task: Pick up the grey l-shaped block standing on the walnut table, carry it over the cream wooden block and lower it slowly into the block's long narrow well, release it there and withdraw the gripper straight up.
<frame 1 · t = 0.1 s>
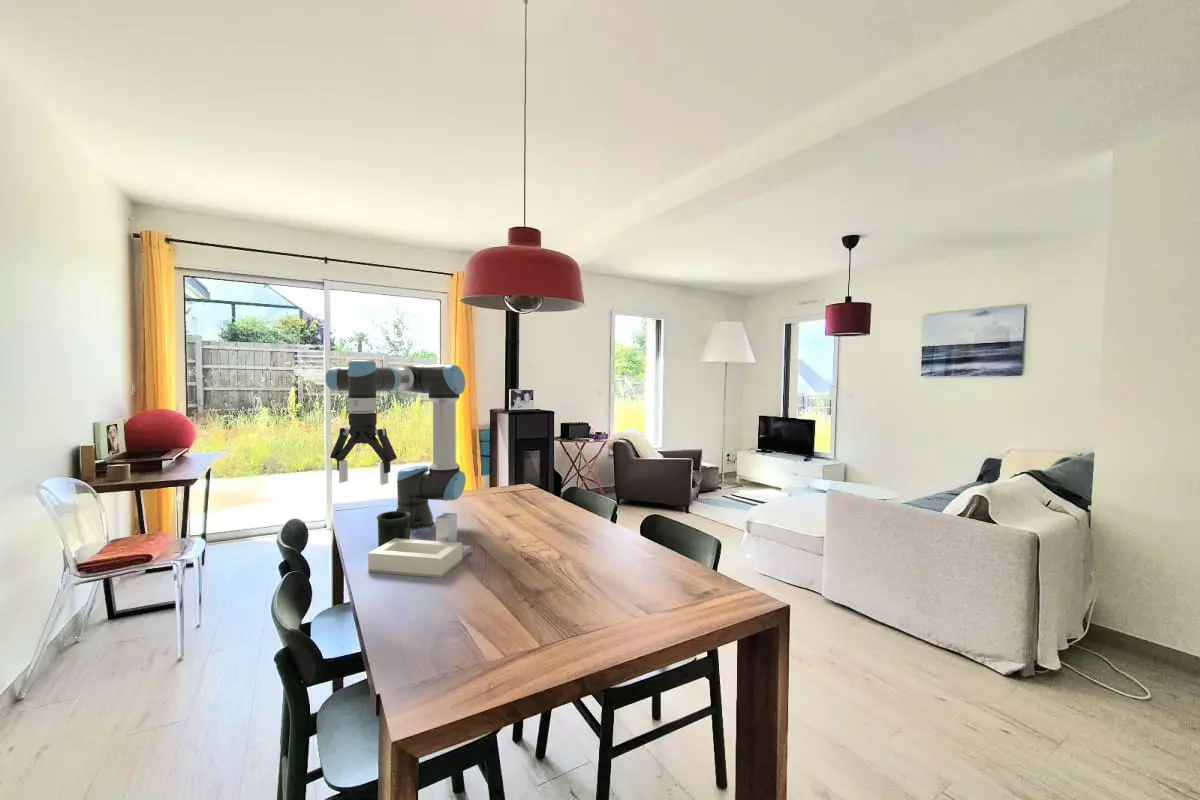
hand: (363, 482, 146), 28 cm above the table, fingers open, 13 cm apart
grey l-shaped block: (446, 553, 166), on the table
well block: (416, 565, 155), on the table
mug: (392, 548, 170), on the table
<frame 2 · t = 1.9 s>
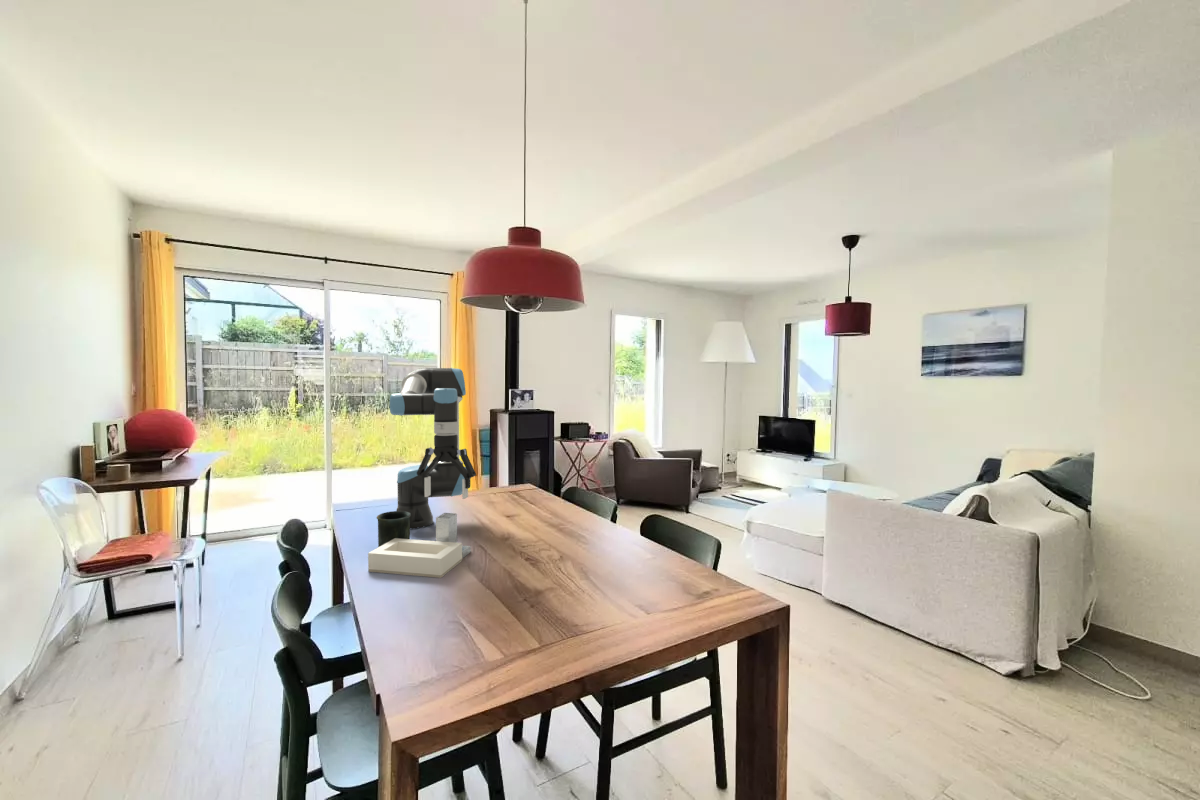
hand: (446, 497, 165), 19 cm above the table, fingers open, 13 cm apart
nothing on the table moved.
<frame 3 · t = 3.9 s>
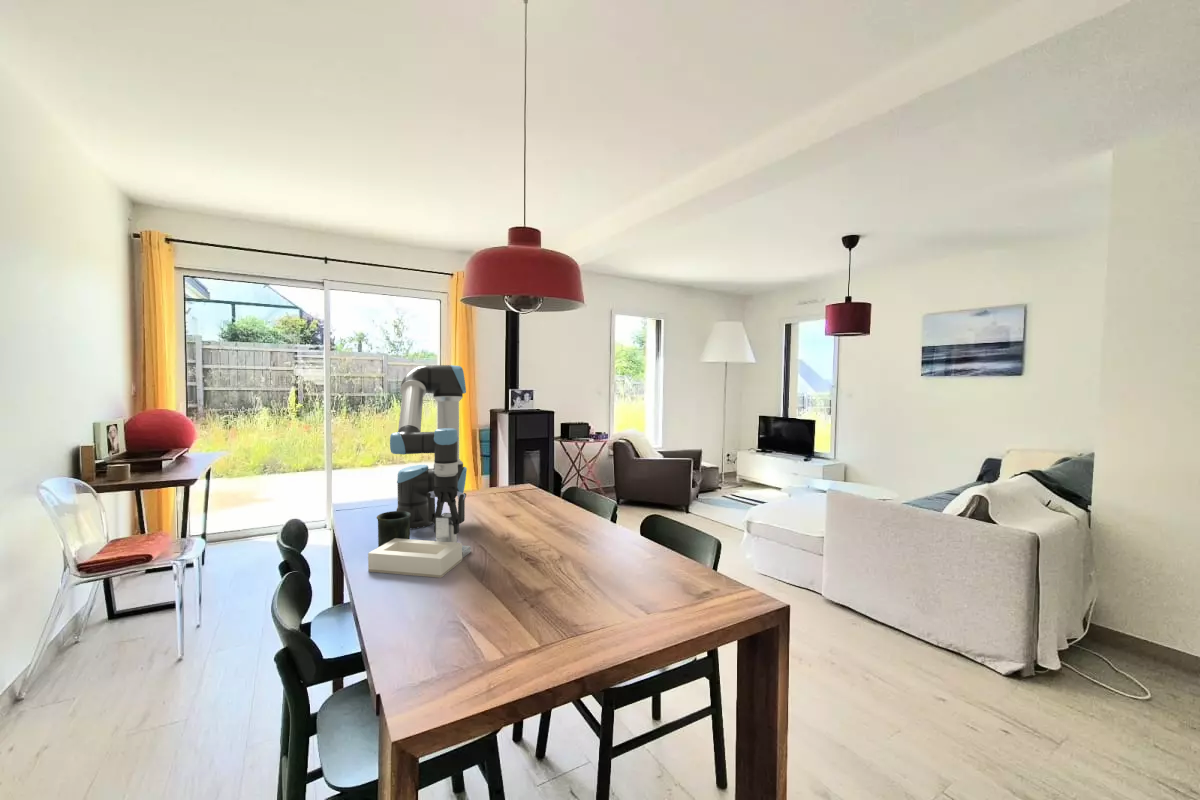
hand: (446, 542, 166), 4 cm above the table, fingers closed on grey l-shaped block, 4 cm apart
grey l-shaped block: (446, 553, 166), on the table, touching gripper
everything else where it was.
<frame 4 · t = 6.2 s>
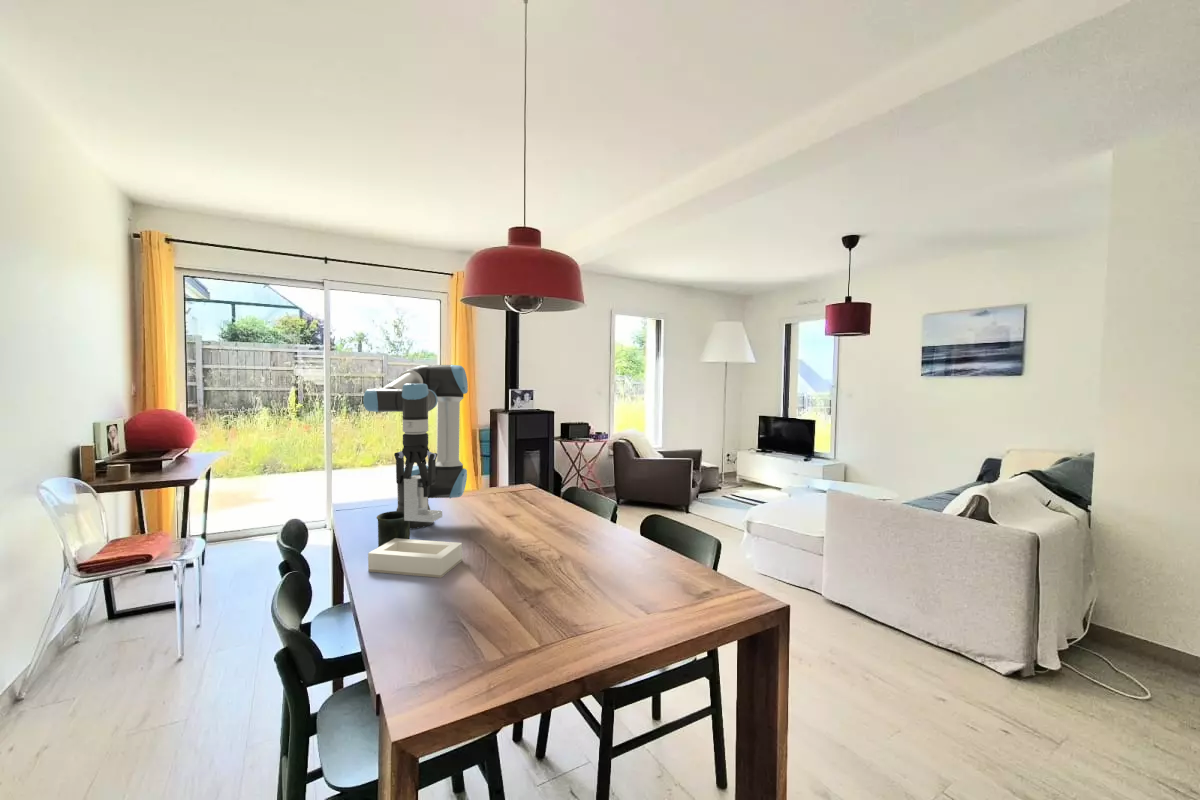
hand: (416, 506, 154), 19 cm above the table, fingers closed on grey l-shaped block, 4 cm apart
grey l-shaped block: (416, 518, 154), point 15 cm above the table, touching gripper
everything else where it was.
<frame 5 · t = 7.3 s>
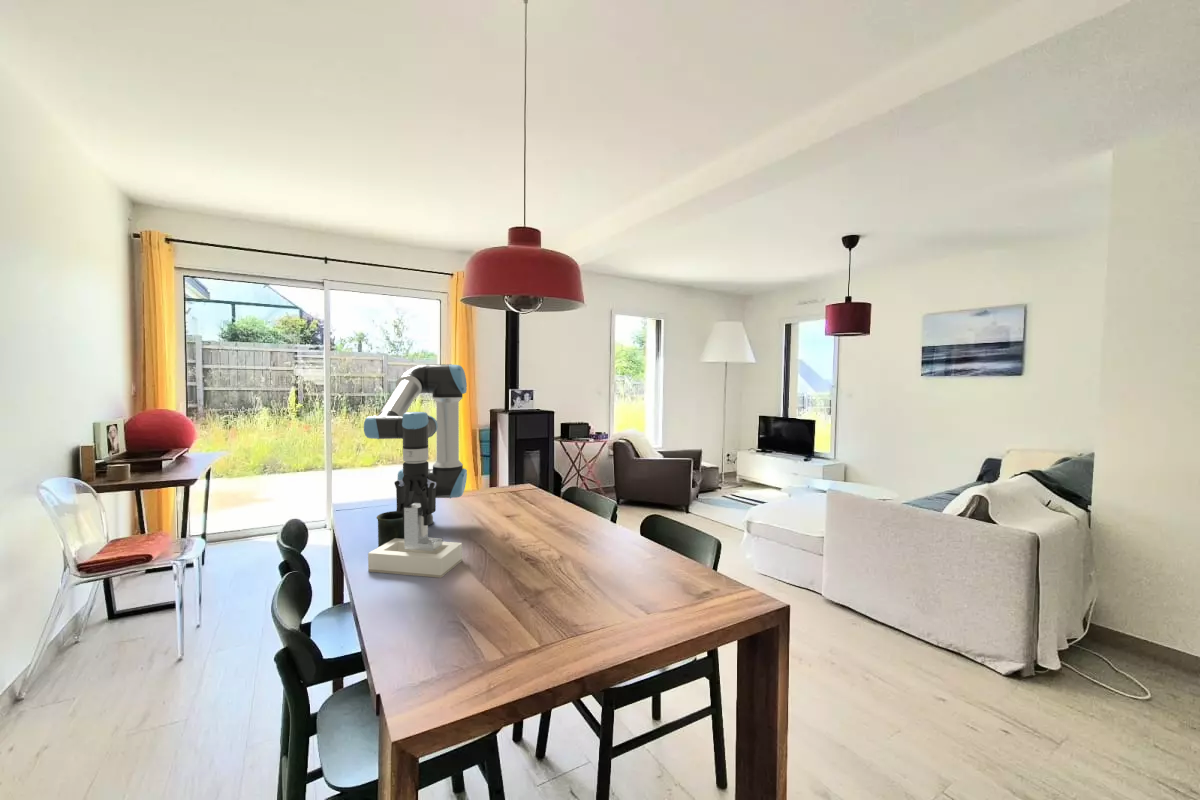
hand: (416, 534, 154), 10 cm above the table, fingers closed on grey l-shaped block, 4 cm apart
grey l-shaped block: (416, 546, 154), point 6 cm above the table, touching gripper
everything else where it was.
when the fingers open (6 cm above the table, at t = 8.4 s): grey l-shaped block drops 1 cm, resting on well block.
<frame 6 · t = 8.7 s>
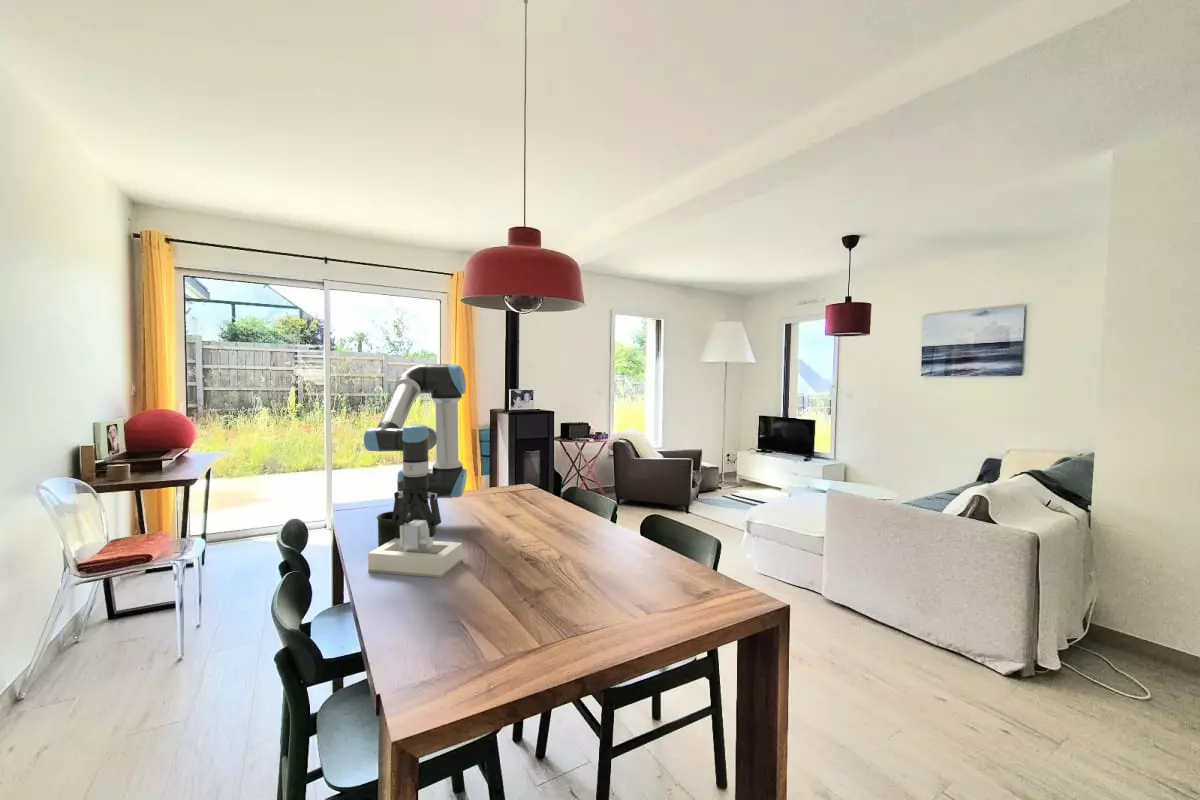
hand: (416, 545, 154), 6 cm above the table, fingers open, 8 cm apart
grey l-shaped block: (416, 563, 155), point 1 cm above the table, touching well block
everything else where it was.
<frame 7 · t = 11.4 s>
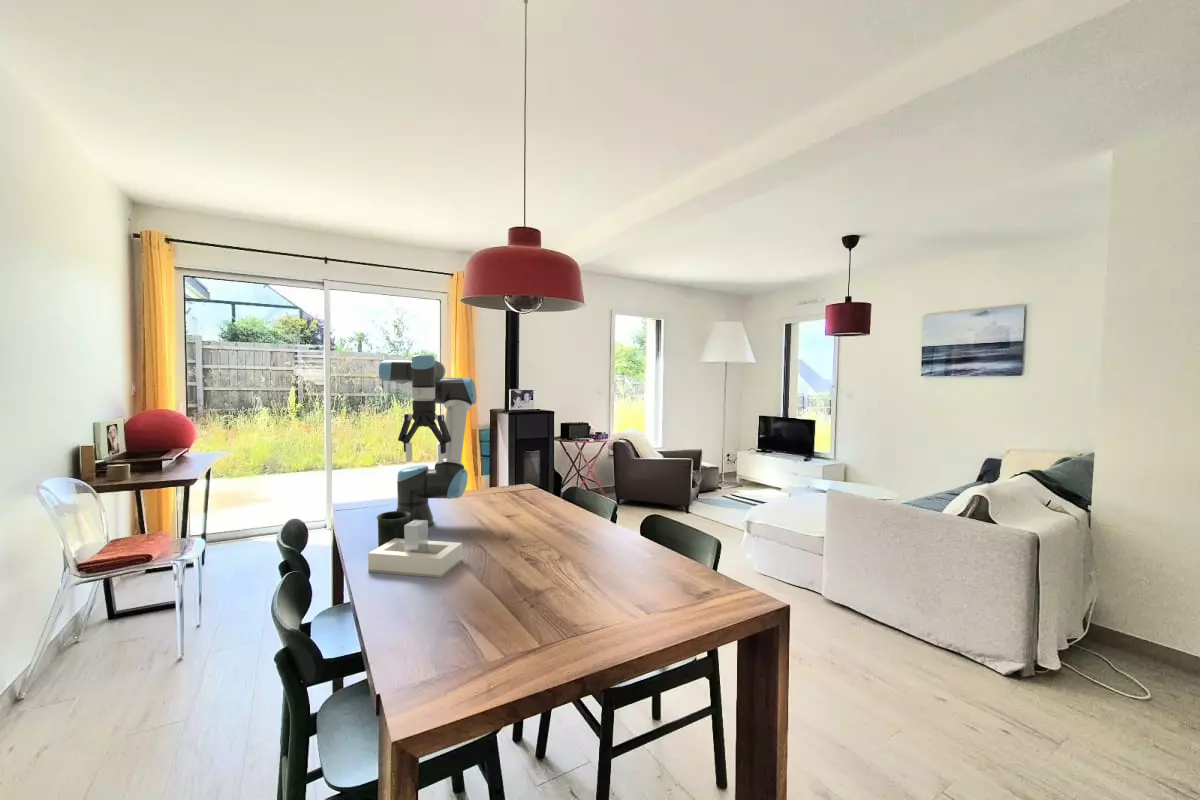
hand: (425, 462, 171), 30 cm above the table, fingers open, 11 cm apart
nothing on the table moved.
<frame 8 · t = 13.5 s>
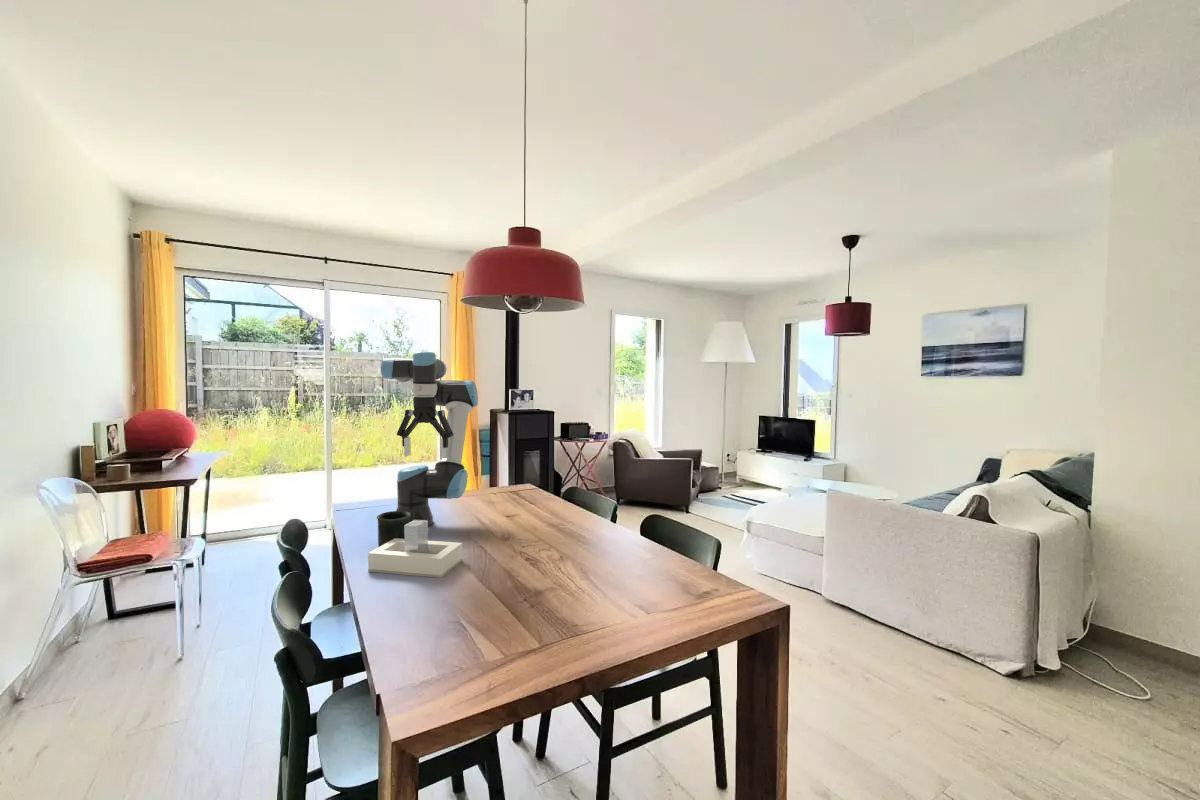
hand: (425, 456, 172), 32 cm above the table, fingers open, 13 cm apart
nothing on the table moved.
at the end: grey l-shaped block inside the target area on the well block (0.0 cm from its centre), point 0.8 cm above the well block's base; grey l-shaped block tilted 0°; the gripper is holding nothing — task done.
